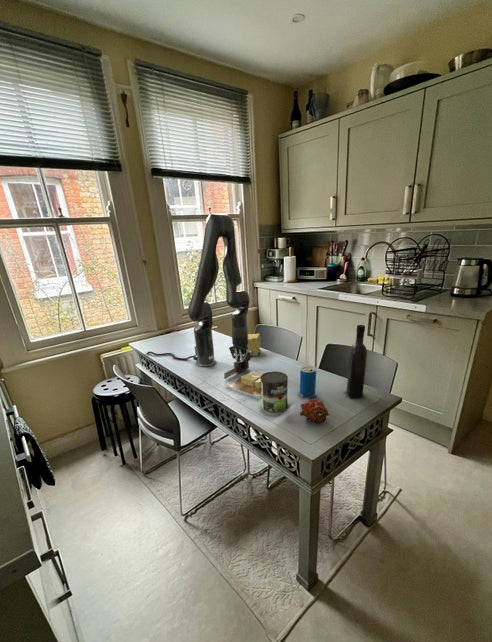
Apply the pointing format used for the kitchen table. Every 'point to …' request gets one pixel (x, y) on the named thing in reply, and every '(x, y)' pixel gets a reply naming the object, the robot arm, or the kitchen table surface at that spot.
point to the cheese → (254, 343)
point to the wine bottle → (357, 365)
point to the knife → (236, 368)
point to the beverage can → (307, 382)
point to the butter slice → (258, 383)
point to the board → (247, 388)
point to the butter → (249, 379)
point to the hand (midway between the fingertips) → (241, 367)
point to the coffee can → (274, 392)
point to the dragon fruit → (314, 411)
